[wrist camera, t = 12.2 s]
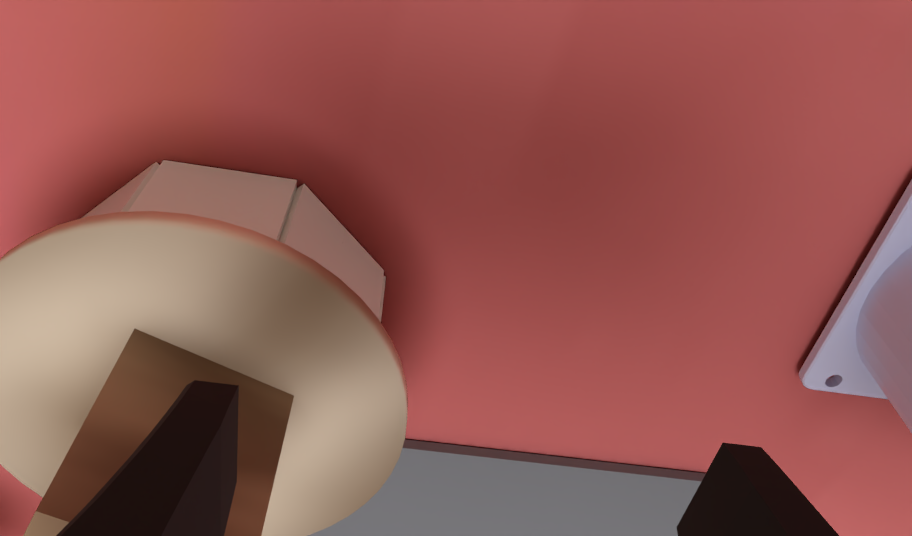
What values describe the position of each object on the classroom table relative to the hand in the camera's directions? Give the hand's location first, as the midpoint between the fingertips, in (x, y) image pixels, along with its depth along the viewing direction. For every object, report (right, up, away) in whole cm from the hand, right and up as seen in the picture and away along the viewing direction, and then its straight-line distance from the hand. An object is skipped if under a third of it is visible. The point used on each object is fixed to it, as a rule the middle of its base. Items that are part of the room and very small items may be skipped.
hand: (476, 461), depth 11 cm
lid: (-7, 0, +8) cm, 11 cm away
